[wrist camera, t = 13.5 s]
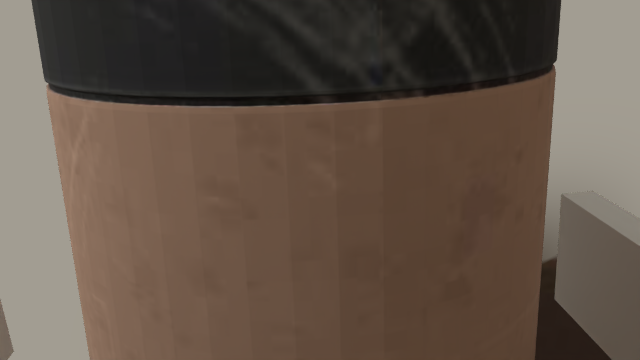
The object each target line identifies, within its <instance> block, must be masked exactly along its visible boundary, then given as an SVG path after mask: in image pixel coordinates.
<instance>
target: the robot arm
mask: <svg viewBox="0 0 640 360" xmlns="http://www.w3.org/2000/svg"><path fill="white" fill-rule="evenodd" d="M555 300H556V301H557V302H558V303H559V304H560V305H561V306H562V307H563V308H564V309H565V310H566V311H567V312H568V313H569V315H570V316H571V317H572V318H573V319H574V320H575V321H576V322H577V323H578V324H579V325H580V326H581V327H582V328H583V329H584V330H585V331H586V333H587V334H588V335H589V336H590V337H591V338H592V339H593V340H594V341H595V342H596V343H597V344H598V345H599V346H600V347H601V348H602V349H603V351H604V352H605V353H606V354H607V355H608V356H609V357H610V358H611V359H612V360H640V218H638V217H636V216H635V215H633V214H631V213H630V212H628V211H626V210H624V209H623V208H621V207H619V206H618V205H616V204H614V203H613V202H611V201H609V200H608V199H606V198H604V197H602V196H601V195H599V194H597V193H596V192H594V191H587V192H577V193H565V194H561V208H560V223H559V240H558V254H557V270H556V286H555ZM12 353H13V347H12V343H11V339H10V335H9V331H8V328H7V324H6V320H5V316H4V312H3V308H2V305H1V301H0V360H7V359H8V358H9V357H10V356H11V354H12Z"/></svg>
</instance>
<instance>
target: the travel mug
mask: <svg viewBox="0 0 640 360" xmlns="http://www.w3.org/2000/svg"><path fill="white" fill-rule="evenodd" d="M32 6H33V12H34V18H35V25H36V31H37V37H38V43H39V49H40V55H41V61H42V68H43V74H44V79H45V81H46V82H47V83H48V85H47V98H48V104H49V110H50V116H51V122H52V129H53V135H54V140H55V146H56V153H57V159H58V166H59V172H60V178H61V184H62V190H63V196H64V202H65V208H66V214H67V221H68V227H69V233H70V239H71V246H72V251H73V258H74V264H75V270H76V275H77V282H78V289H79V295H80V301H81V307H82V313H83V319H84V326H85V332H86V338H87V344H88V350H89V356H90V360H535V346H536V333H537V319H538V306H539V292H540V279H541V265H542V250H543V238H544V225H545V210H546V197H547V183H548V170H549V157H550V143H551V129H552V117H553V102H554V88H555V75H556V72H555V66H554V65H553V63H554V62H555V61H556V60H557V49H558V35H559V21H560V8H561V0H32Z"/></svg>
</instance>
